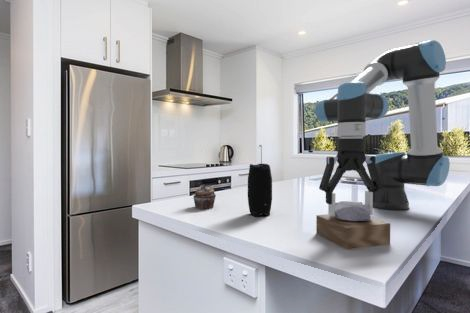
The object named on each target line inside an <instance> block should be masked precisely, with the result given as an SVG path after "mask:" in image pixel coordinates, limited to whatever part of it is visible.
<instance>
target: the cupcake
mask: <svg viewBox="0 0 470 313" xmlns="http://www.w3.org/2000/svg"><path fill="white" fill-rule="evenodd" d="M215 192H216V191H215V189H214V186H213V184H200V186H199V187H198V188H197V189H196V191H195V194H194V196H192V197H193V202H194V207H195V209H196V210H205V211H206V210H211V209H213V208H214V206H215V205H214V204H215V201H216V197H217V195H216V194H215Z"/></svg>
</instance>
